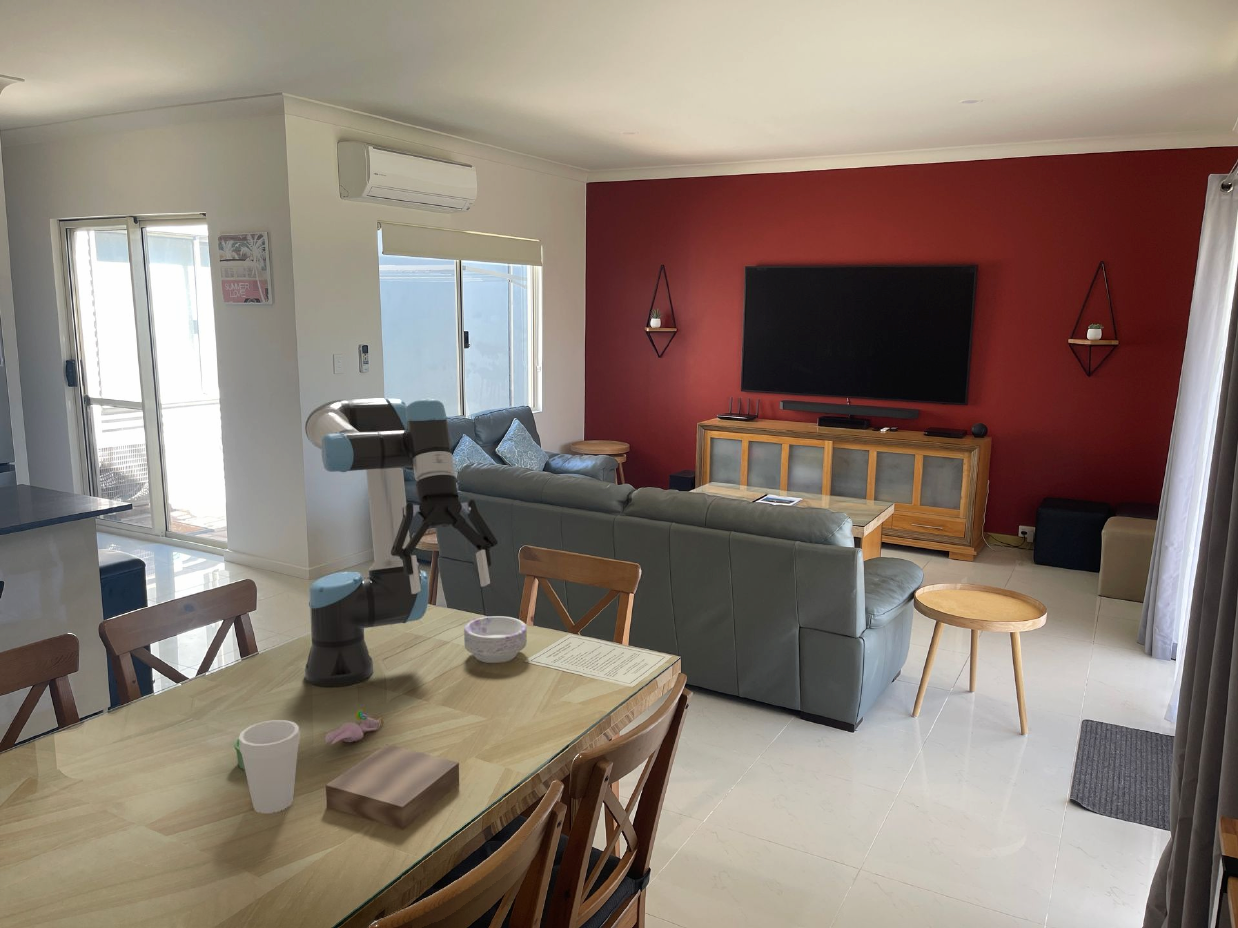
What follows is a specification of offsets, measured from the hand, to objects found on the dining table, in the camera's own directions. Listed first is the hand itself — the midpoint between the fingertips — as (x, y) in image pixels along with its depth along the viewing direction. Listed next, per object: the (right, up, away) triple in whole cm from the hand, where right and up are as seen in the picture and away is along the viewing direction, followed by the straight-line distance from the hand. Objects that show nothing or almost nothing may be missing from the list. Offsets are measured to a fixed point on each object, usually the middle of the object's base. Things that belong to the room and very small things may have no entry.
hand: (451, 588), depth 162 cm
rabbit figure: (-21, -32, +12) cm, 40 cm away
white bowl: (0, -25, +55) cm, 60 cm away
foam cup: (-28, -35, -11) cm, 47 cm away
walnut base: (-8, -35, -8) cm, 37 cm away
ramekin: (-36, -33, +3) cm, 49 cm away
